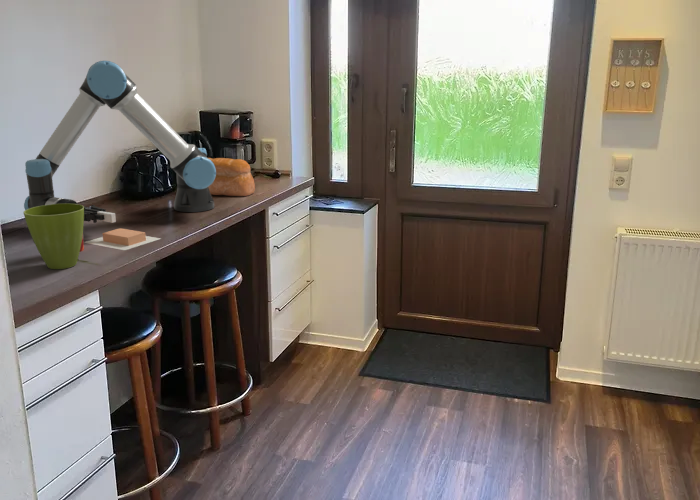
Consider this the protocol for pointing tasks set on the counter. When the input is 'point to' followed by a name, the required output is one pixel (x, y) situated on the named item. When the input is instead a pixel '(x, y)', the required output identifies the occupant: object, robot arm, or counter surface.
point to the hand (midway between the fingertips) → (113, 218)
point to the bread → (232, 178)
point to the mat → (118, 246)
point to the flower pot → (57, 233)
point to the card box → (124, 236)
